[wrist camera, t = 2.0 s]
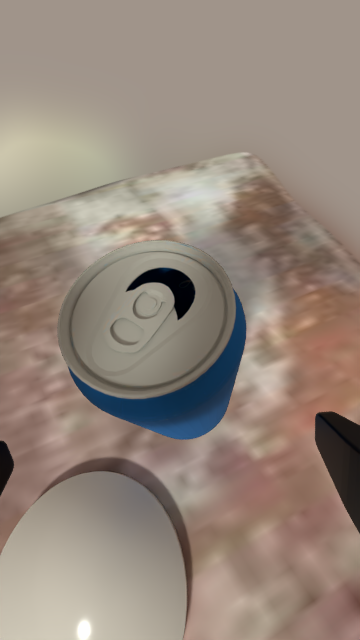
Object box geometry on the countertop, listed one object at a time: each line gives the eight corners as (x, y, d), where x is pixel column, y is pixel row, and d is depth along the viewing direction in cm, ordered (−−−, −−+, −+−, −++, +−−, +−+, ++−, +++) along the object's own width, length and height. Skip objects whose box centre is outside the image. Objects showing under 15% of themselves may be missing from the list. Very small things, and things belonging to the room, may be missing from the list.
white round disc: (231, 634, 12) (232, 642, 12) (23, 847, 10) (13, 868, 10) (126, 434, 17) (123, 434, 17) (-27, 549, 15) (-36, 552, 15)
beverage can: (245, 378, 18) (288, 272, 8) (198, 461, 16) (166, 475, 5) (174, 336, 20) (131, 211, 10) (124, 404, 18) (2, 336, 8)
